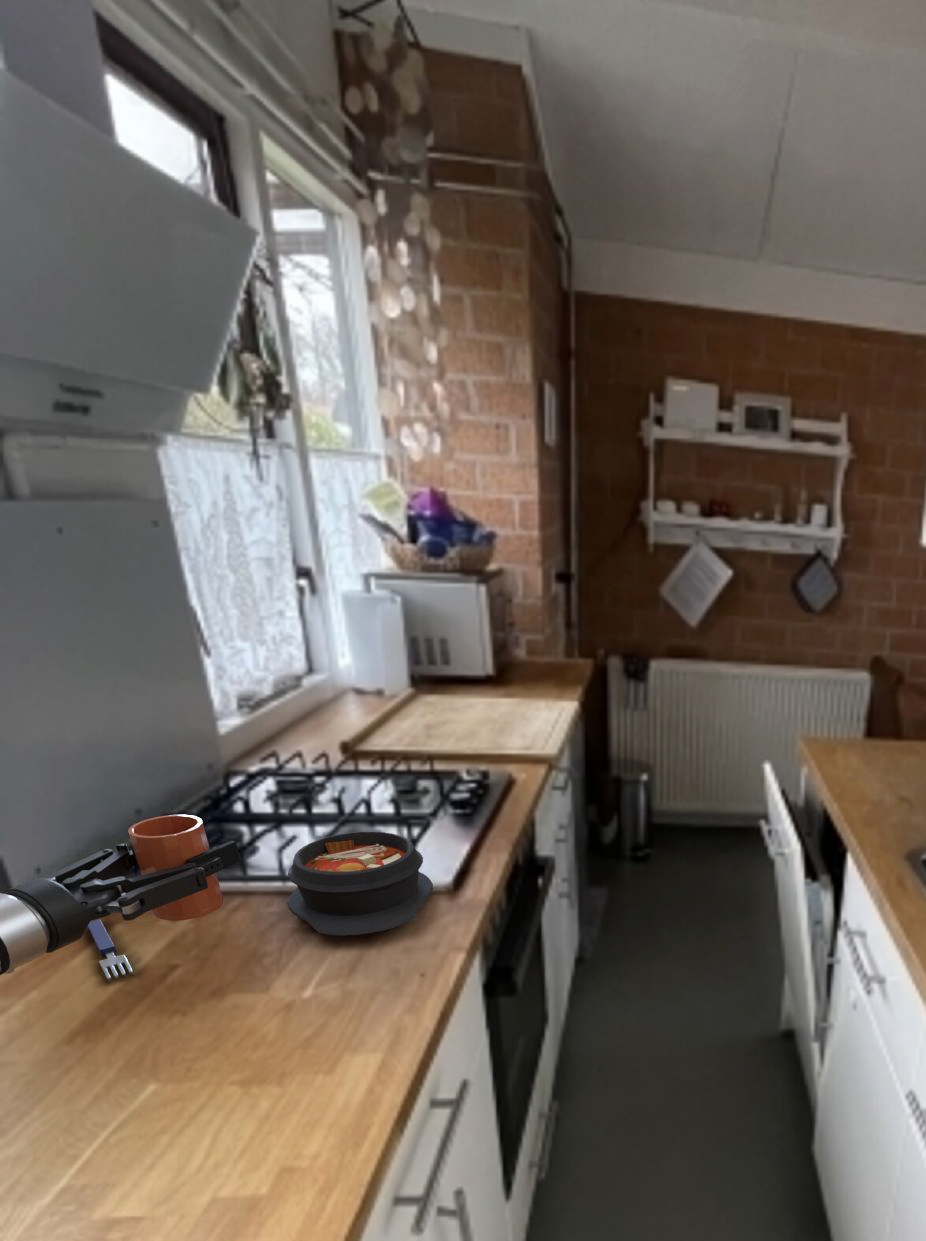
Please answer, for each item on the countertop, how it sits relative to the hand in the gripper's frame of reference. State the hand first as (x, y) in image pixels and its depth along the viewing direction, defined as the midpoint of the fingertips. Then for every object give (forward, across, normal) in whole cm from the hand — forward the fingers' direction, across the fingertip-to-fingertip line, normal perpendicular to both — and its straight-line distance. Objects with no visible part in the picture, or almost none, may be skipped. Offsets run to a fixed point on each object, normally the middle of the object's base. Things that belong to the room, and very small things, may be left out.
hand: (209, 845), depth 111 cm
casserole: (+11, +12, -12) cm, 20 cm away
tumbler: (-5, 0, -6) cm, 8 cm away
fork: (-10, -9, -12) cm, 18 cm away
